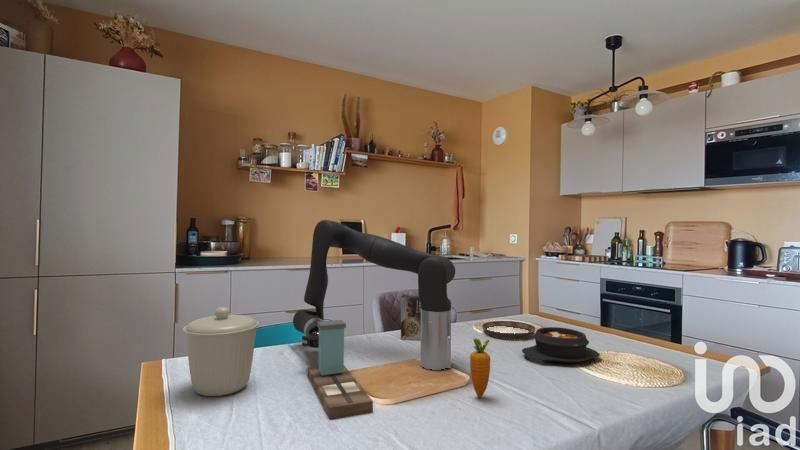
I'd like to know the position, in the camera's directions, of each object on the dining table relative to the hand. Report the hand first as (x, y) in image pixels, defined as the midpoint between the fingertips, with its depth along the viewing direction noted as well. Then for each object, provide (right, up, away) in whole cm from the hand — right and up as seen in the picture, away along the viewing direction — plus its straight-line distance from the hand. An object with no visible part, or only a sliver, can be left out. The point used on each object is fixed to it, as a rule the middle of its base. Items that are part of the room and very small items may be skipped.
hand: (329, 347), depth 112 cm
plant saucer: (+63, -10, +50) cm, 81 cm away
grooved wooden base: (+3, -9, -8) cm, 13 cm away
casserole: (+72, -10, +21) cm, 75 cm away
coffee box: (+24, -10, +44) cm, 51 cm away
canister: (-27, -9, -7) cm, 29 cm away
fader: (+1, -6, -2) cm, 6 cm away
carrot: (+39, -10, -11) cm, 42 cm away
